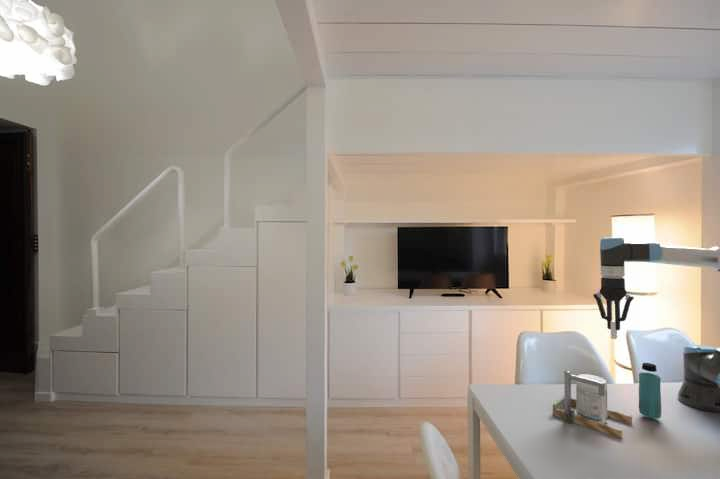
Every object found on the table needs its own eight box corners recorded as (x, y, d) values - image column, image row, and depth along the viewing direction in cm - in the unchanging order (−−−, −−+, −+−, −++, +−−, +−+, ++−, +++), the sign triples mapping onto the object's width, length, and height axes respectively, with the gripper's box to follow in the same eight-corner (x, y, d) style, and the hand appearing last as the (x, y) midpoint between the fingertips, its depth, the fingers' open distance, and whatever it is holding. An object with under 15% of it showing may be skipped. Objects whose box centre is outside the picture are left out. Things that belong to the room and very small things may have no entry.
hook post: (604, 433, 118) (604, 380, 119) (603, 435, 117) (603, 381, 117) (565, 420, 127) (565, 370, 128) (563, 421, 126) (563, 371, 126)
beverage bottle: (665, 424, 125) (665, 367, 125) (644, 422, 126) (644, 366, 126) (654, 415, 131) (654, 361, 131) (634, 413, 133) (634, 360, 133)
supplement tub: (587, 410, 135) (587, 372, 135) (613, 422, 126) (613, 381, 126) (570, 415, 131) (570, 375, 131) (595, 427, 122) (595, 385, 122)
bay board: (632, 423, 125) (632, 411, 125) (621, 438, 115) (621, 426, 115) (567, 402, 141) (567, 392, 141) (552, 414, 131) (552, 404, 131)
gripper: (590, 276, 138) (591, 337, 138) (631, 278, 129) (633, 343, 129) (595, 275, 143) (596, 333, 143) (635, 277, 134) (636, 339, 134)
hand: (614, 338), depth 136 cm, fingers closed
